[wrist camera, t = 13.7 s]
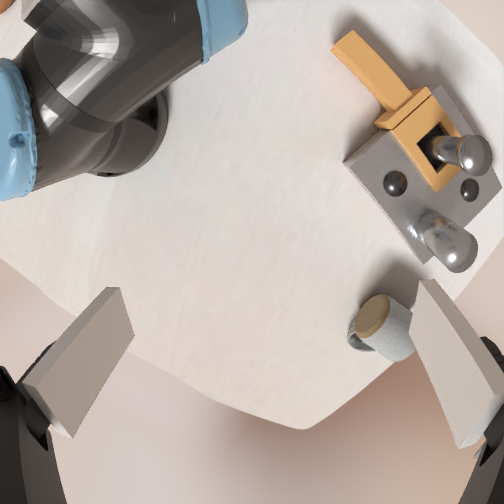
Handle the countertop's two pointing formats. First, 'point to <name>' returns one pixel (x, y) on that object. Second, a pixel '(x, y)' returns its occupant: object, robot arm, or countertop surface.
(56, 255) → the countertop surface
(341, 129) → the countertop surface
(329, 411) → the countertop surface
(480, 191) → the grey latch block
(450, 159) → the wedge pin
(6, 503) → the robot arm
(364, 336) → the ceramic mug
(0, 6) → the onion
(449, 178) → the bracket
